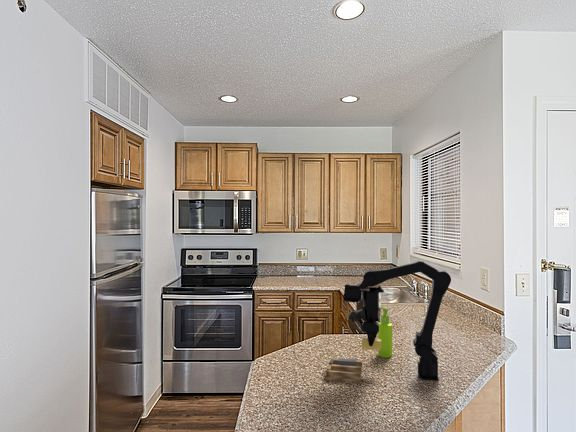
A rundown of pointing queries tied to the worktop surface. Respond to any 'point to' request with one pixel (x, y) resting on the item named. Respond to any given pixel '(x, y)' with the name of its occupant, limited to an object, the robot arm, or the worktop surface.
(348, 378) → the slot board
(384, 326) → the soap dispenser
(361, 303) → the wooden container
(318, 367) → the worktop surface
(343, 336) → the worktop surface
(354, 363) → the tall grey block
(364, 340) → the yellow rectangular block
